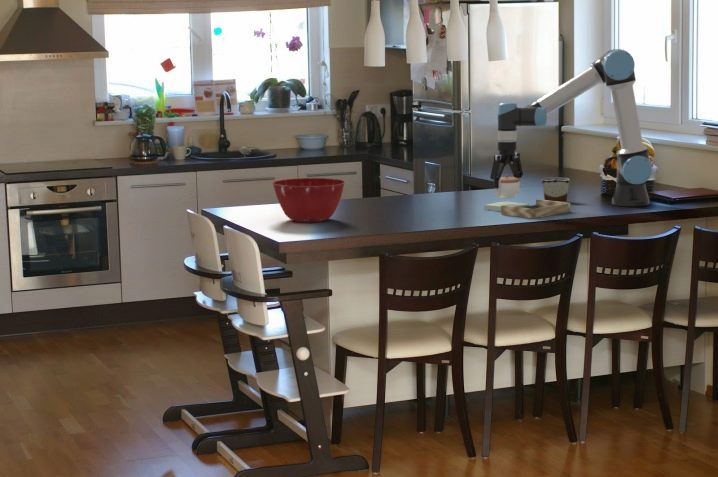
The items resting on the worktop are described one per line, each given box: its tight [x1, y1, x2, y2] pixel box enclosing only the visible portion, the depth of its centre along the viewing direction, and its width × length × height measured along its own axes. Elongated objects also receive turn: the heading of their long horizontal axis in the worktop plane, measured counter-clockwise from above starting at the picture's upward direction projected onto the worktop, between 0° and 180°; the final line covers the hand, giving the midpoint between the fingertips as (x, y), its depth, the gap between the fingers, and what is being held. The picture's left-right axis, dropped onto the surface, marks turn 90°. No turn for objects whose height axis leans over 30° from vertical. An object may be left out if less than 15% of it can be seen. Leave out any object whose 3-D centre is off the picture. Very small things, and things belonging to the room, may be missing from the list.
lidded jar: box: [493, 174, 521, 199], centre depth 474 cm, size 11×11×9 cm
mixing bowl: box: [272, 177, 346, 224], centre depth 454 cm, size 28×28×16 cm
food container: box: [540, 176, 571, 203], centre depth 495 cm, size 12×6×10 cm, turn 84°
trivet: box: [483, 200, 530, 213], centre depth 475 cm, size 13×13×2 cm
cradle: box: [500, 199, 571, 219], centre depth 464 cm, size 16×23×4 cm
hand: (506, 194), depth 474 cm, fingers closed on lidded jar, 11 cm apart
